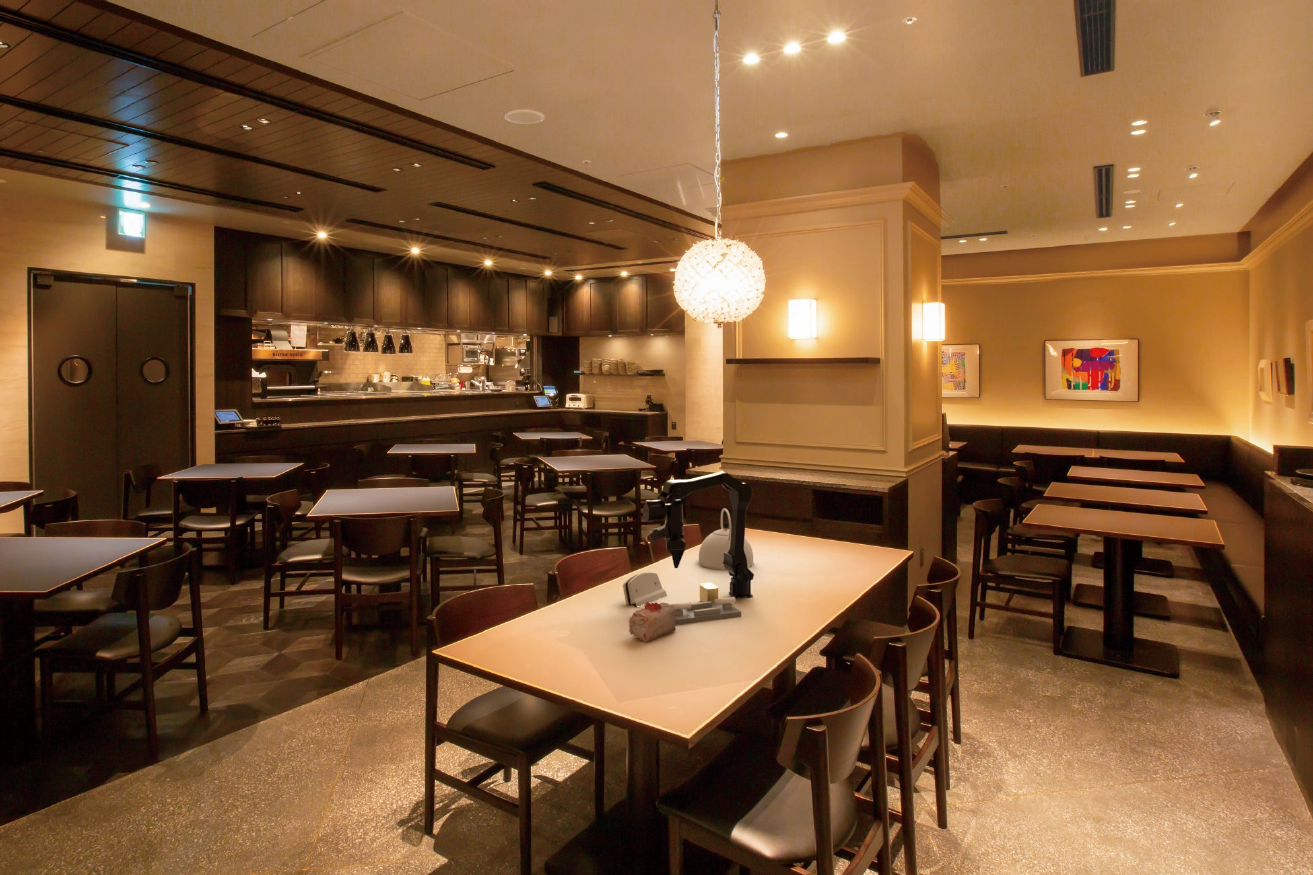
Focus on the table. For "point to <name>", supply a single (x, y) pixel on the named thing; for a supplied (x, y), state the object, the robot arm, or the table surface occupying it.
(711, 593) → the block
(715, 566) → the kettle
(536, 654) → the table surface
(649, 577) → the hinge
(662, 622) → the food item
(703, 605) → the shaft stand
